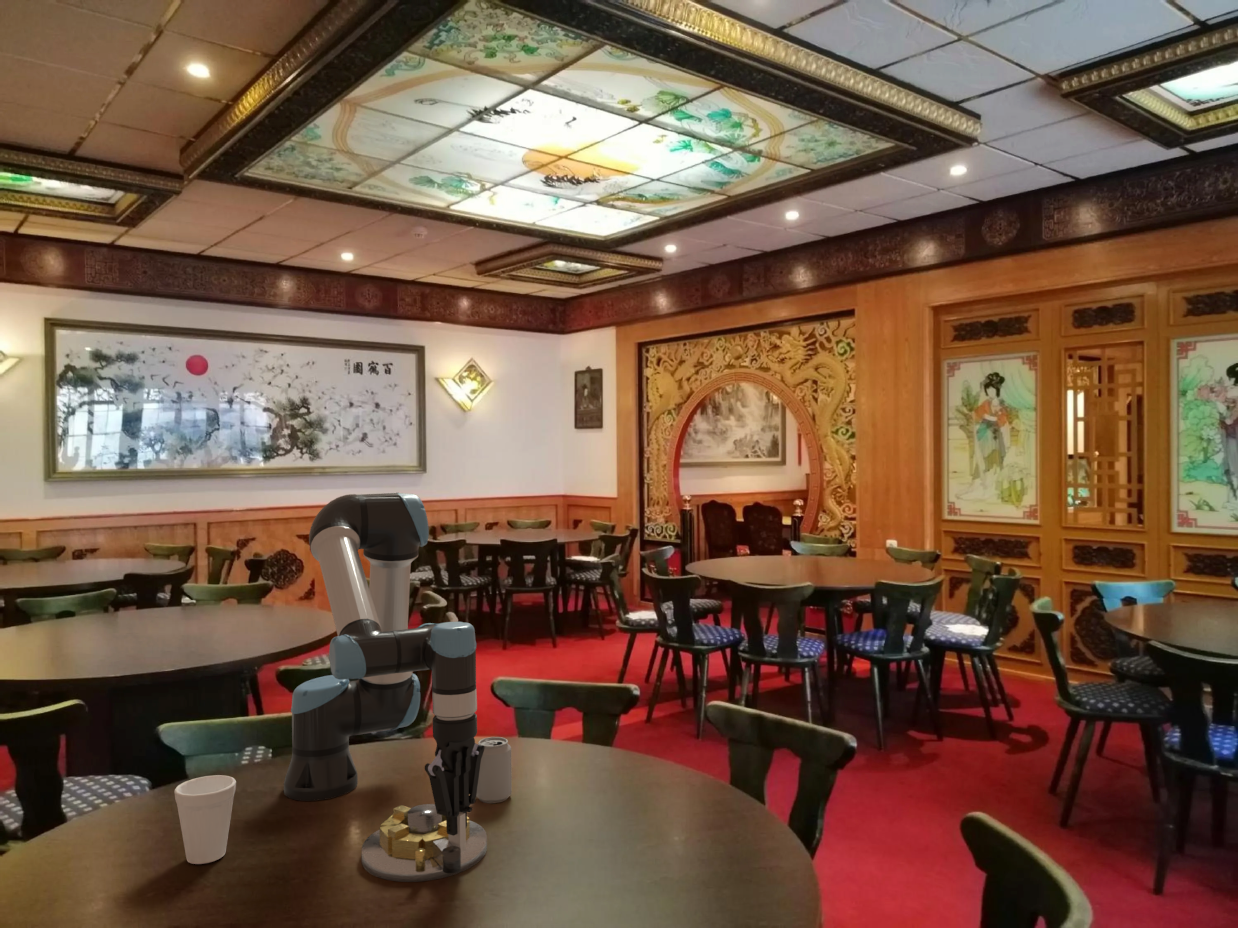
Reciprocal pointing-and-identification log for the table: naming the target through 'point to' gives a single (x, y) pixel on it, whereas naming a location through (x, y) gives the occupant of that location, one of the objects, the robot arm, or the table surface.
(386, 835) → the ring nut
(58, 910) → the table surface
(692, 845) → the table surface
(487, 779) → the can
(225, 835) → the cup
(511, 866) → the table surface
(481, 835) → the cap base
